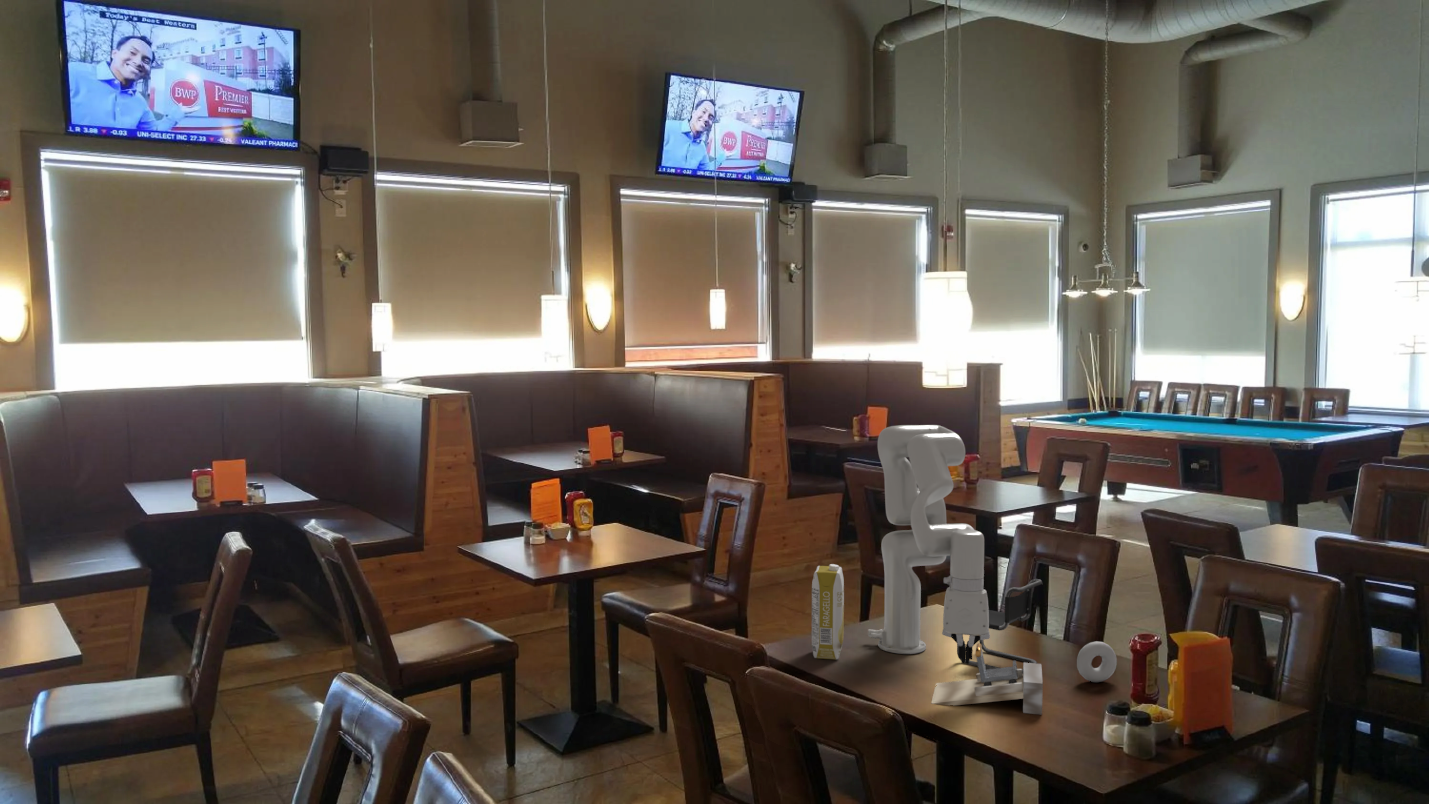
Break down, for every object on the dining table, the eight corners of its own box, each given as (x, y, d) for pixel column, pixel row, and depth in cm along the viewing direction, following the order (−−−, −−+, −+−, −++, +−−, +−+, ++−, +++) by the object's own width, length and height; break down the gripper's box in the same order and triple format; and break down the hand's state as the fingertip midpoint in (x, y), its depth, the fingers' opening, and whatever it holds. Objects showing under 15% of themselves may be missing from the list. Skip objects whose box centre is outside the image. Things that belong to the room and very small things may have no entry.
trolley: (974, 689, 229) (975, 651, 229) (975, 679, 236) (976, 643, 235) (1017, 693, 226) (1018, 655, 226) (1017, 683, 233) (1018, 646, 232)
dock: (931, 707, 229) (931, 673, 228) (936, 687, 242) (936, 654, 242) (1041, 718, 222) (1042, 683, 221) (1040, 697, 235) (1041, 663, 235)
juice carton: (841, 661, 258) (842, 569, 257) (810, 659, 260) (811, 567, 259) (844, 650, 268) (844, 561, 266) (814, 648, 269) (814, 560, 268)
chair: (1019, 677, 246) (1020, 588, 245) (955, 661, 258) (957, 577, 257) (1042, 664, 256) (1044, 579, 254) (980, 650, 268) (981, 568, 266)
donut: (1080, 685, 240) (1081, 644, 240) (1073, 680, 244) (1074, 640, 243) (1119, 683, 242) (1120, 642, 241) (1111, 678, 245) (1112, 638, 245)
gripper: (932, 585, 230) (931, 663, 231) (1000, 590, 226) (998, 670, 227) (935, 577, 237) (933, 654, 239) (1000, 582, 233) (999, 660, 234)
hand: (965, 661), depth 233 cm, fingers closed
